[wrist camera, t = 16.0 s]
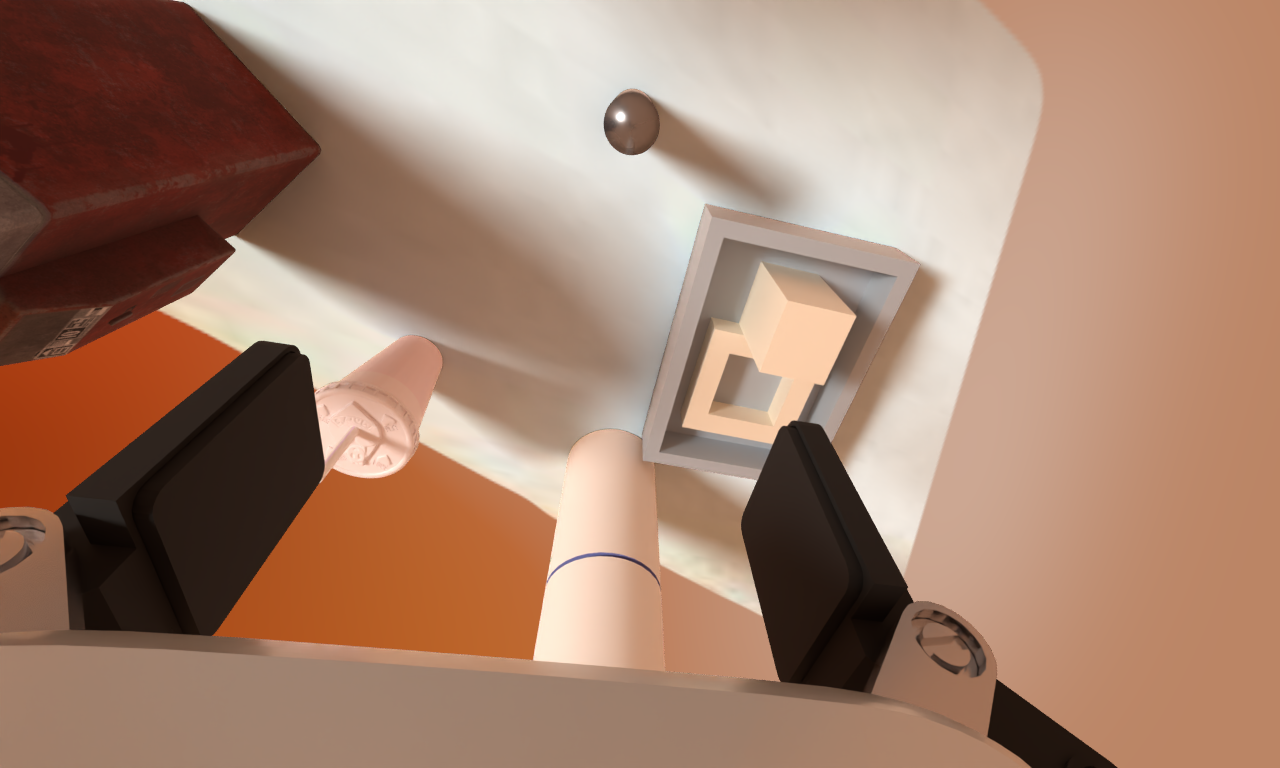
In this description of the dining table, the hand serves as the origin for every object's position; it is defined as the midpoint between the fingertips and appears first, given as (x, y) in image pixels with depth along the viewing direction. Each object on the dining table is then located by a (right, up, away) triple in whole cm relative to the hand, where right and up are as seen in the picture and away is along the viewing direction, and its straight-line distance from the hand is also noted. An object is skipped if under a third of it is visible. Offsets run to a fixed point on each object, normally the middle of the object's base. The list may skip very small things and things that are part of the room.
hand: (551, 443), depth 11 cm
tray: (+10, +4, +27) cm, 30 cm away
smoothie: (-14, +3, +28) cm, 32 cm away
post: (+1, +17, +20) cm, 26 cm away
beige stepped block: (+10, +4, +27) cm, 29 cm away
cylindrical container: (-1, -5, +33) cm, 33 cm away
